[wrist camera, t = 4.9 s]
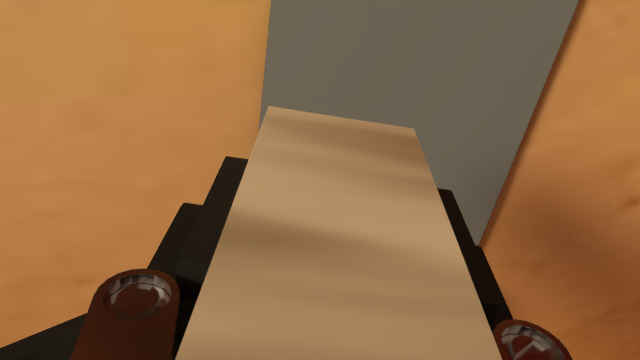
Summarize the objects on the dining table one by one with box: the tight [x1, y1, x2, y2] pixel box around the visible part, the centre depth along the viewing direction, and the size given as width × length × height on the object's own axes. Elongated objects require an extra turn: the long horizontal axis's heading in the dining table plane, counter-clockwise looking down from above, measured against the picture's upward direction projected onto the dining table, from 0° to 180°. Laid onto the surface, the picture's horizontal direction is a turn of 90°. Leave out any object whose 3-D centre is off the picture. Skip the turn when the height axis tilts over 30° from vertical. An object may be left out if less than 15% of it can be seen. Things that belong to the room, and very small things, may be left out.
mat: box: [259, 0, 579, 245], centre depth 29 cm, size 26×15×1 cm, turn 171°
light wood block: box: [175, 106, 502, 360], centre depth 9 cm, size 4×4×11 cm
